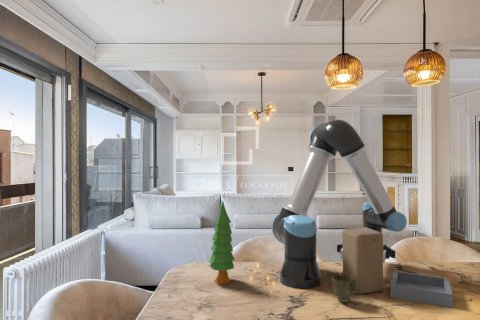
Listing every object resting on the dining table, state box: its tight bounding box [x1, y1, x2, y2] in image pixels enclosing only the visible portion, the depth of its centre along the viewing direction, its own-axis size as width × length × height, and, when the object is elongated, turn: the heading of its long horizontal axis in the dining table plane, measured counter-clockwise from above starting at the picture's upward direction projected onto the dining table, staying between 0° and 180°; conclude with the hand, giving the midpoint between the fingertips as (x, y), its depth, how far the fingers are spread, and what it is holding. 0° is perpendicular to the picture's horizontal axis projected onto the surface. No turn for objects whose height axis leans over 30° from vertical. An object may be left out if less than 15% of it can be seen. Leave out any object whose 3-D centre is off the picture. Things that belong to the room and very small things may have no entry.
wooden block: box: [342, 226, 384, 295], centre depth 116 cm, size 10×10×20 cm
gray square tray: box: [389, 270, 454, 309], centre depth 112 cm, size 17×17×4 cm
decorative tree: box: [208, 201, 235, 285], centre depth 125 cm, size 10×9×30 cm
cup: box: [331, 272, 356, 305], centre depth 105 cm, size 8×7×8 cm
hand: (361, 256), depth 116 cm, fingers closed on wooden block, 13 cm apart
